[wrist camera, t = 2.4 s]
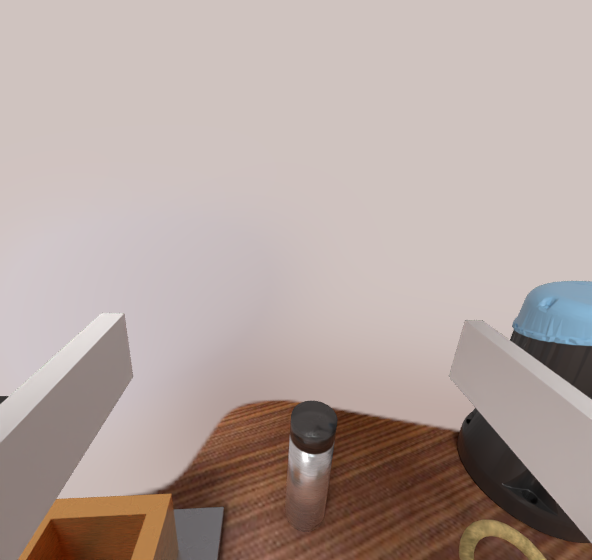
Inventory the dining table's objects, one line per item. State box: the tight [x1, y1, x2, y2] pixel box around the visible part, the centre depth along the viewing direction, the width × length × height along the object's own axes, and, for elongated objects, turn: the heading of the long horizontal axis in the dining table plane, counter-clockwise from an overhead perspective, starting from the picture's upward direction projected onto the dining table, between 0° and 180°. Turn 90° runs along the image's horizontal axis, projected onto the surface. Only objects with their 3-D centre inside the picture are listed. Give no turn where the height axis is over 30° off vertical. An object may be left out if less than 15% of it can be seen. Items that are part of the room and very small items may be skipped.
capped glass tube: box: [285, 401, 337, 532], centre depth 29 cm, size 4×4×12 cm
